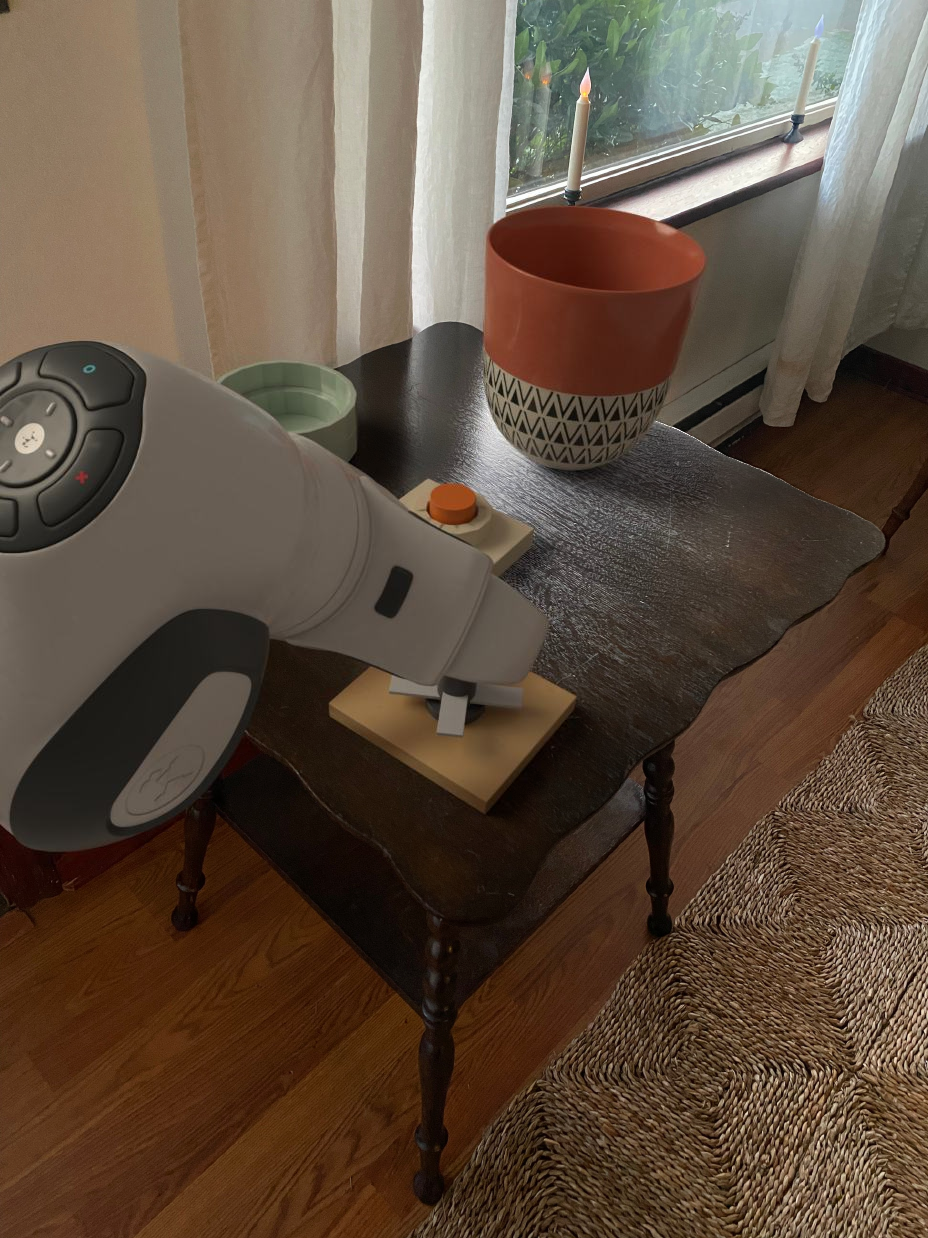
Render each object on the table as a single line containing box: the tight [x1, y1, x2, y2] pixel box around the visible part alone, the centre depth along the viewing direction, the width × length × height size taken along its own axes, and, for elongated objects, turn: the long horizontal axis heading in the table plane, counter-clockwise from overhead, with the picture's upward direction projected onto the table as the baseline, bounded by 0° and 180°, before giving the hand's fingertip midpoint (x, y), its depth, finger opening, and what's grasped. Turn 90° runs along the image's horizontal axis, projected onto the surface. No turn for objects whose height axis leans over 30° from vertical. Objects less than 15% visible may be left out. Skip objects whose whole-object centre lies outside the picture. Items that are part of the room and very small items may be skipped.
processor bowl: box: [215, 359, 359, 463], centre depth 89 cm, size 14×14×6 cm
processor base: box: [398, 478, 535, 578], centre depth 80 cm, size 12×9×4 cm
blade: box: [389, 675, 523, 738], centre depth 62 cm, size 10×10×12 cm
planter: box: [482, 205, 708, 471], centre depth 86 cm, size 20×20×21 cm
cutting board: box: [328, 665, 578, 815], centre depth 66 cm, size 14×12×2 cm
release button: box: [430, 482, 476, 526], centre depth 78 cm, size 4×4×2 cm
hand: (416, 592), depth 54 cm, fingers open, 8 cm apart
